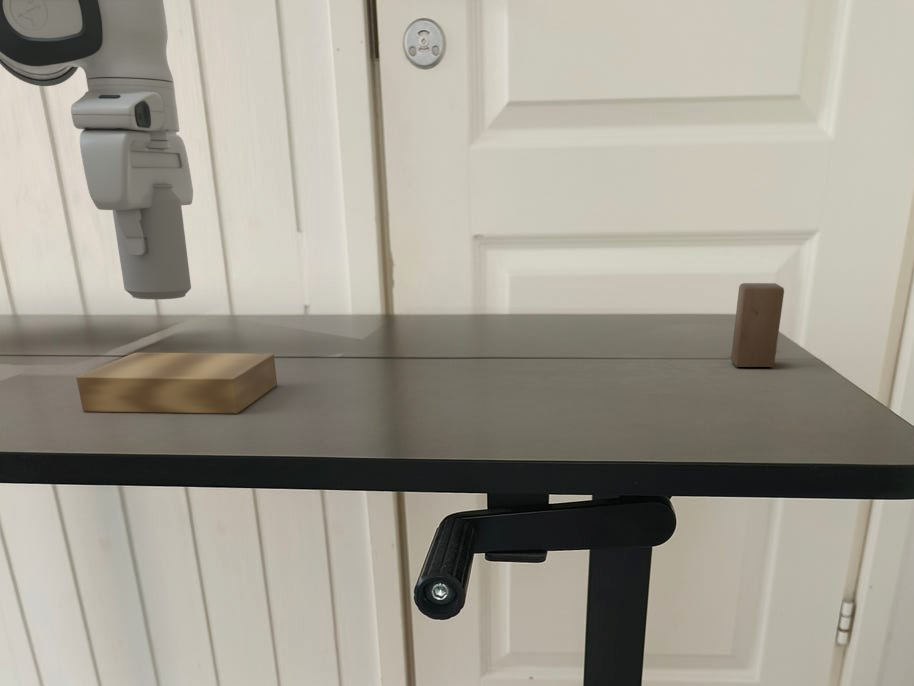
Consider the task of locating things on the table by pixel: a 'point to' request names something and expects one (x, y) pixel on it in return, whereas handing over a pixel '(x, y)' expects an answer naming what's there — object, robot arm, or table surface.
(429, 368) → the table surface
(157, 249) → the can
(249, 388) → the stand
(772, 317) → the wooden block
